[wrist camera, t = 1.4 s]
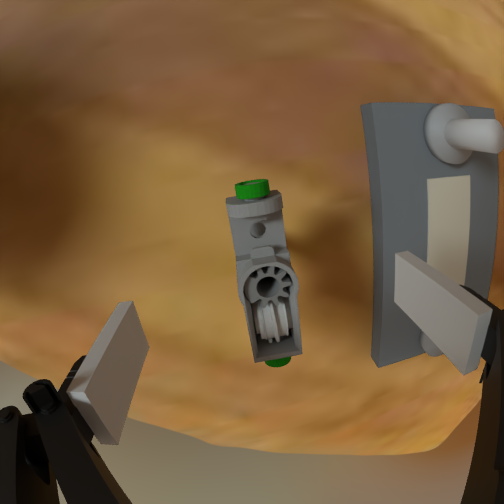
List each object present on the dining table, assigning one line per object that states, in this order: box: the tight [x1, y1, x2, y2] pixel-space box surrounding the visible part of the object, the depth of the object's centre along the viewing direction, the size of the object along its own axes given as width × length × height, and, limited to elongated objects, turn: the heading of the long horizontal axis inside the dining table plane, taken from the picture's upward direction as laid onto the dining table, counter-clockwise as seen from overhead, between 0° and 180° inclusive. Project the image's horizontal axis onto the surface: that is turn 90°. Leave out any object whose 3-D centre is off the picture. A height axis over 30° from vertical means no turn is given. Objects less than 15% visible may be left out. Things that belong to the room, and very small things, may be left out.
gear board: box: [361, 103, 504, 368], centre depth 22 cm, size 24×14×8 cm, turn 9°
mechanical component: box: [226, 179, 302, 367], centre depth 20 cm, size 3×10×10 cm, turn 9°
